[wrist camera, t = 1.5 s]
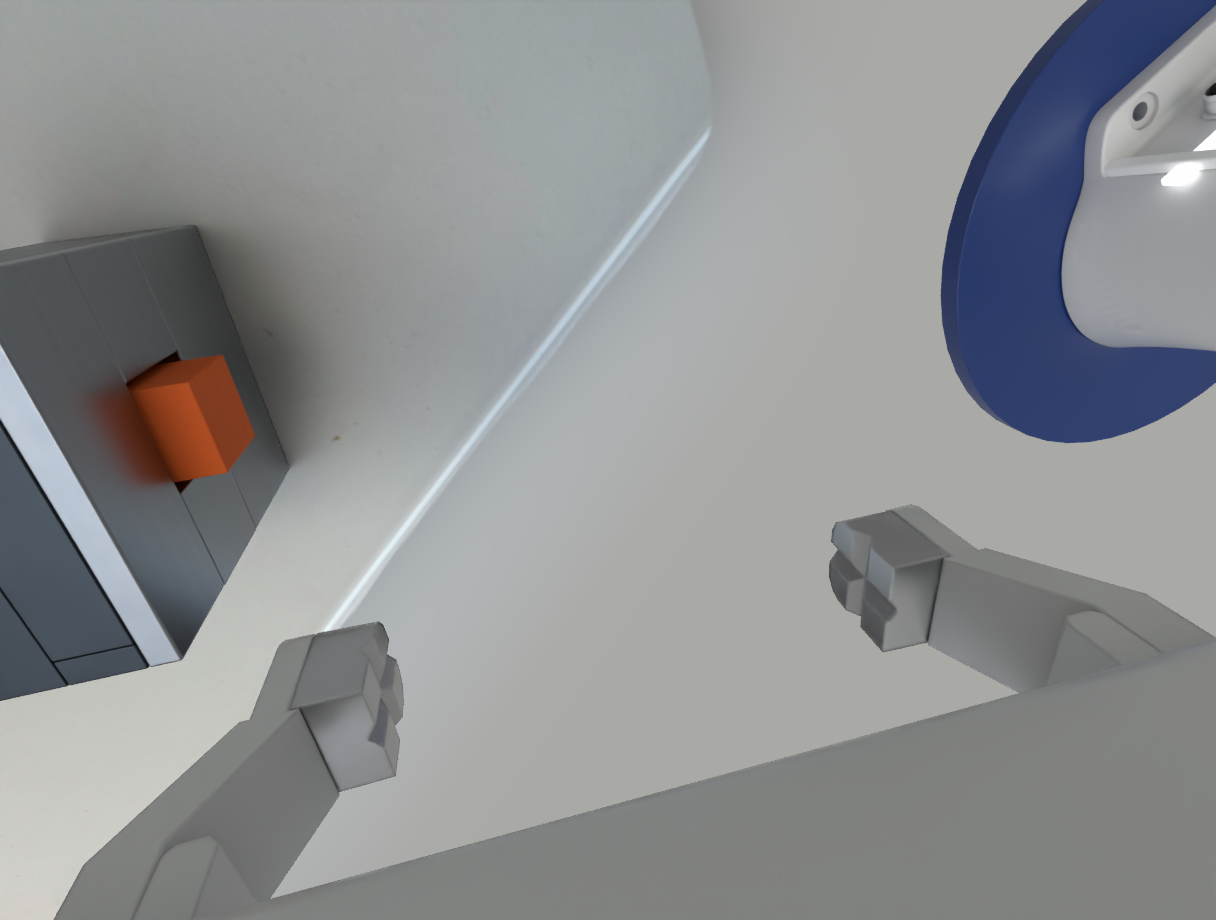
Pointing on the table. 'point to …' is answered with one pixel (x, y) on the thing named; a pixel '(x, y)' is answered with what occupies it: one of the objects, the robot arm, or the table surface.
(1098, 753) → the robot arm
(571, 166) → the table surface
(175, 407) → the button
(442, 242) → the table surface
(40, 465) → the switch box
